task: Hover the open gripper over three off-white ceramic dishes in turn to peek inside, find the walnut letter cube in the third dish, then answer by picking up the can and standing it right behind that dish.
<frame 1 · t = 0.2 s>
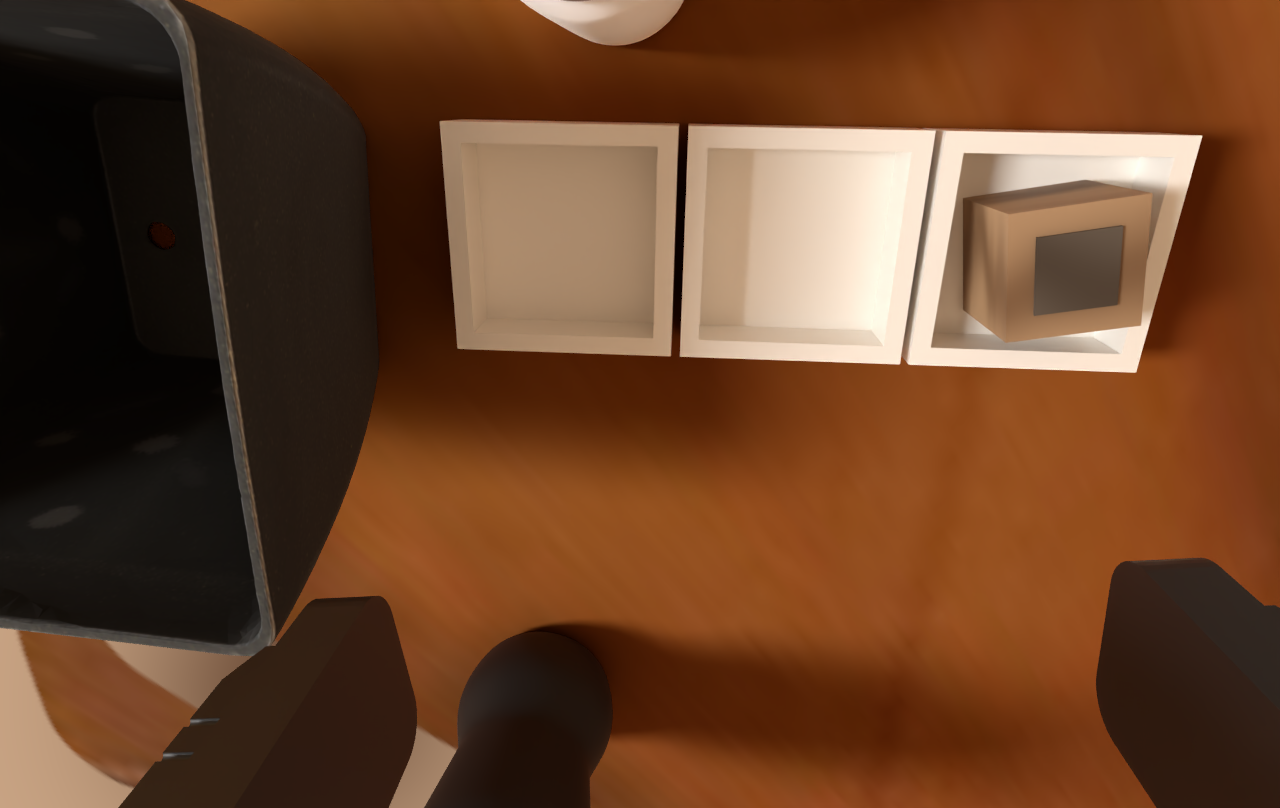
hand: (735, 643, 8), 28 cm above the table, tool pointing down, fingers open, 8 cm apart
letter cube: (1021, 247, 33), point 1 cm above the table, touching dish c
cola bottle: (547, 671, 45), on the table
dish c: (1014, 243, 34), on the table
dish b: (789, 237, 34), on the table
flower pot: (242, 243, 36), on the table
dish a: (571, 232, 35), on the table
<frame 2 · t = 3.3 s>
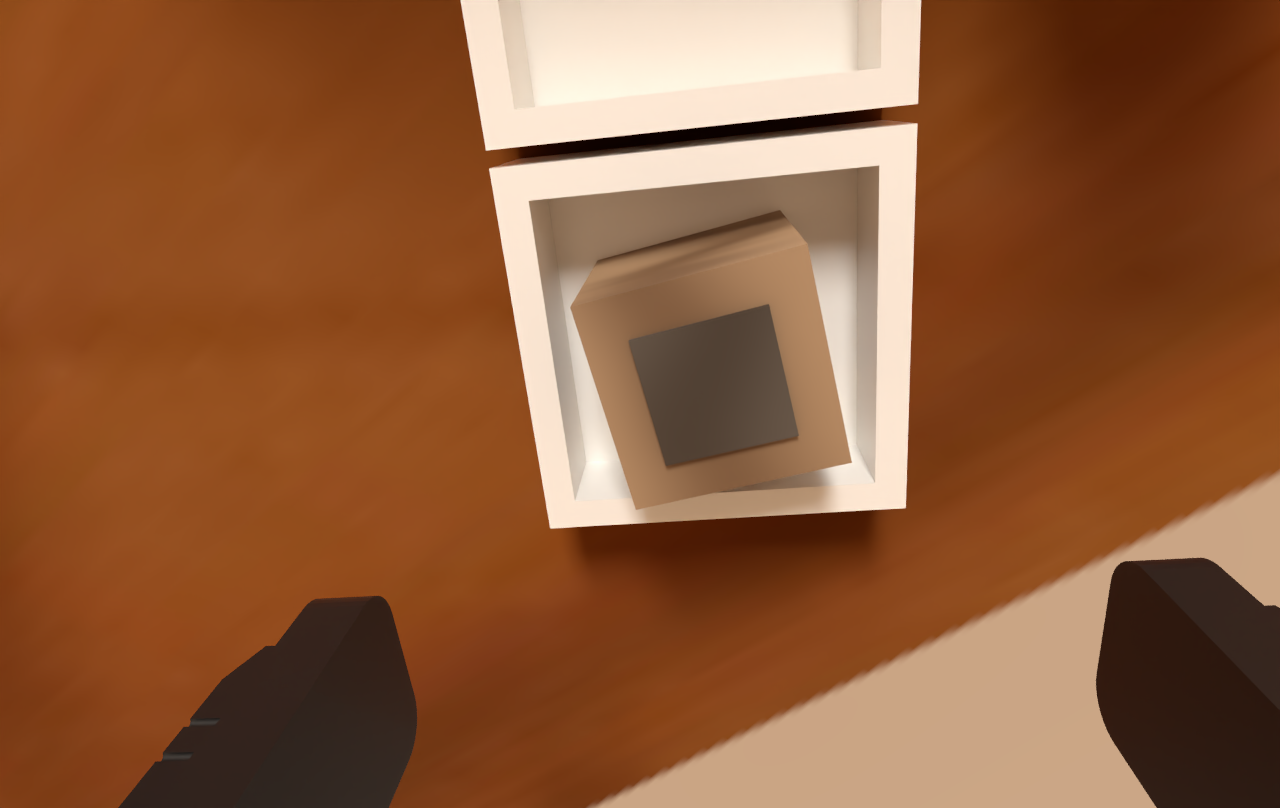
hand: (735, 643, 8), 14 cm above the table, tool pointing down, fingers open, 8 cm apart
letter cube: (709, 323, 21), point 1 cm above the table, touching dish c
dish c: (709, 315, 22), on the table
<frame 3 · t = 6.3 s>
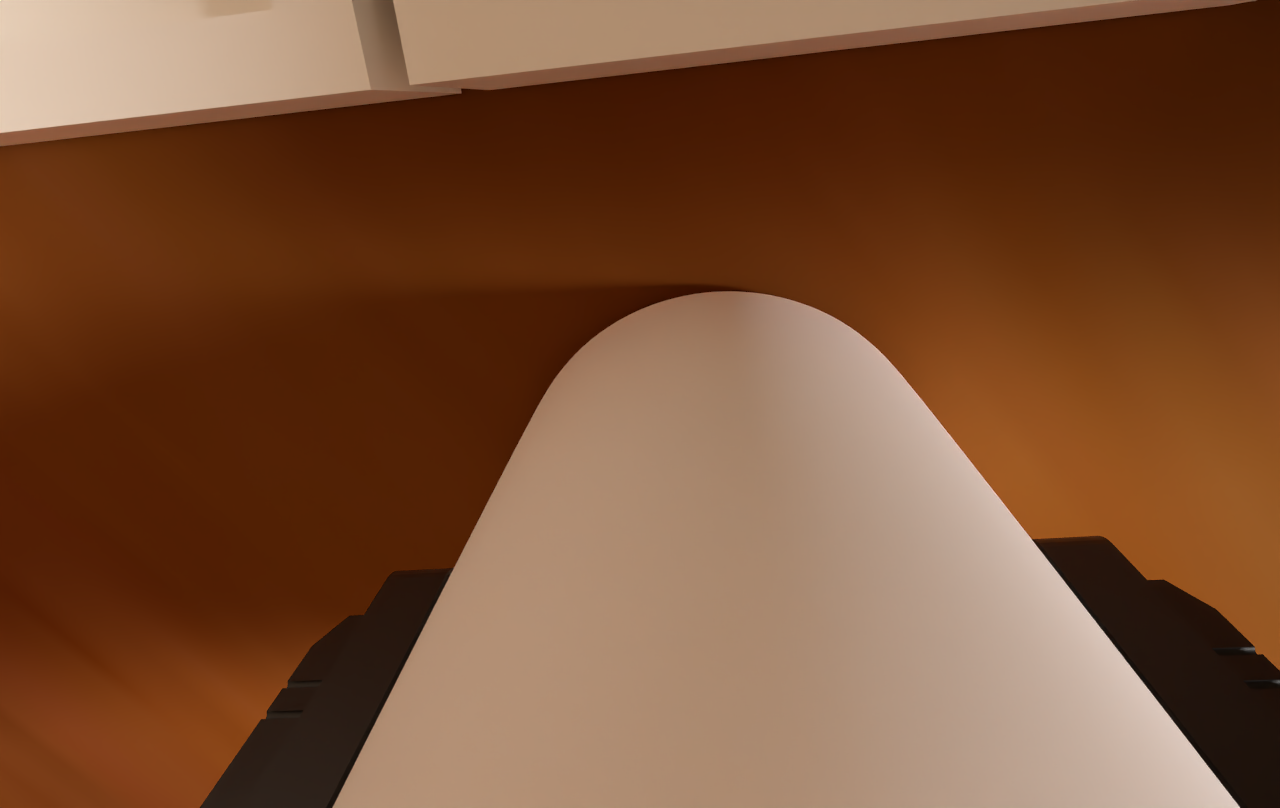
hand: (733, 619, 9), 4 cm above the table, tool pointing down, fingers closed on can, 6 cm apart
can: (721, 470, 13), on the table, touching gripper
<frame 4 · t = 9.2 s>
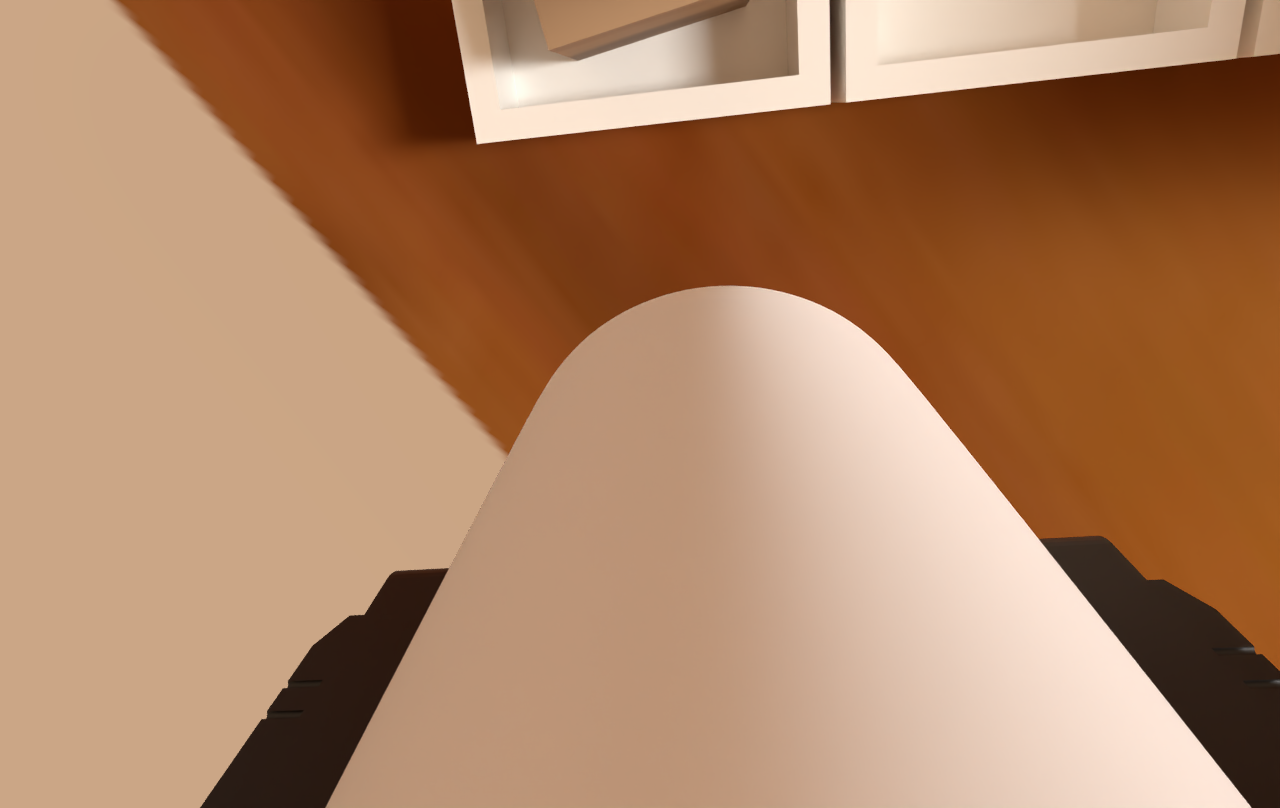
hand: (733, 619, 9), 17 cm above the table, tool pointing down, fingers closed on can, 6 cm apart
can: (721, 465, 13), point 13 cm above the table, touching gripper
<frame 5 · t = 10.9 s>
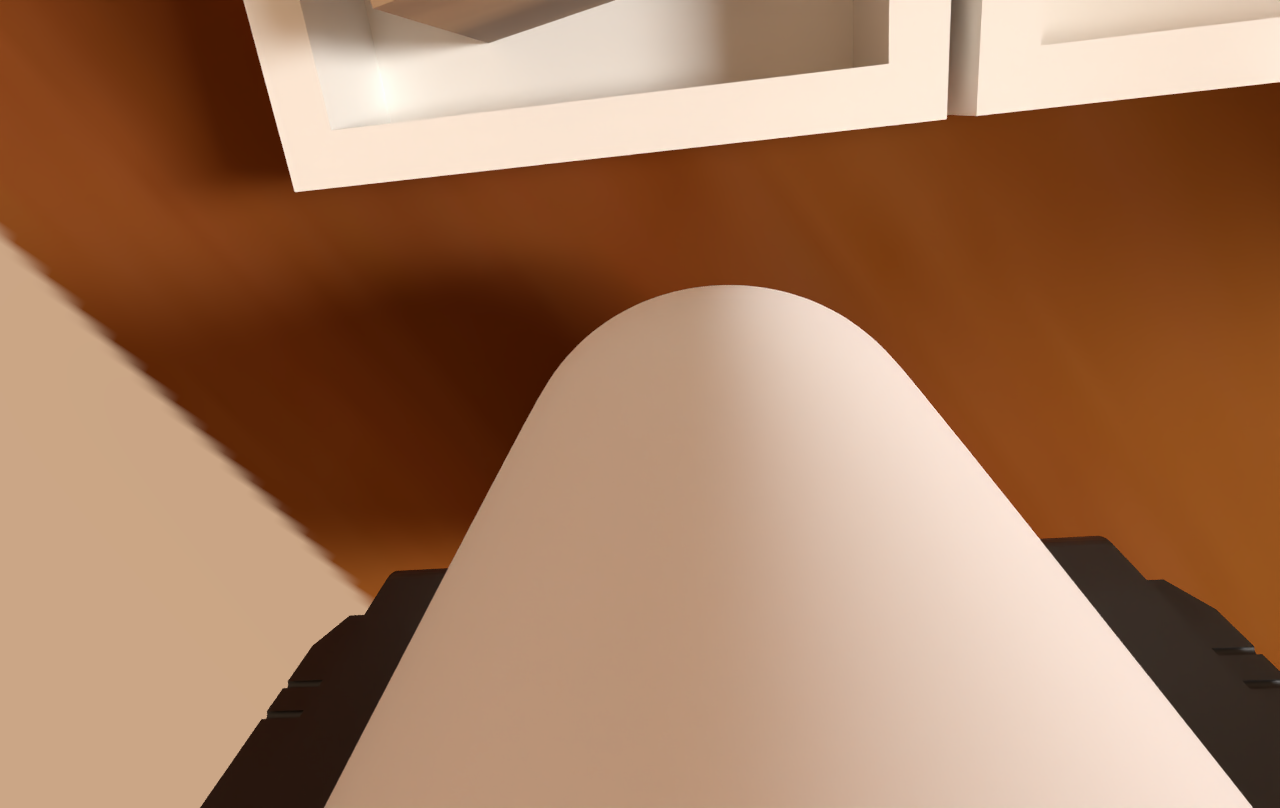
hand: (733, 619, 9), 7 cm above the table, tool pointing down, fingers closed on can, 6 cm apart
can: (721, 465, 13), point 3 cm above the table, touching gripper
when the fingers open (5 cm above the table, at t = 12.0 s): can drops 1 cm, on the table.
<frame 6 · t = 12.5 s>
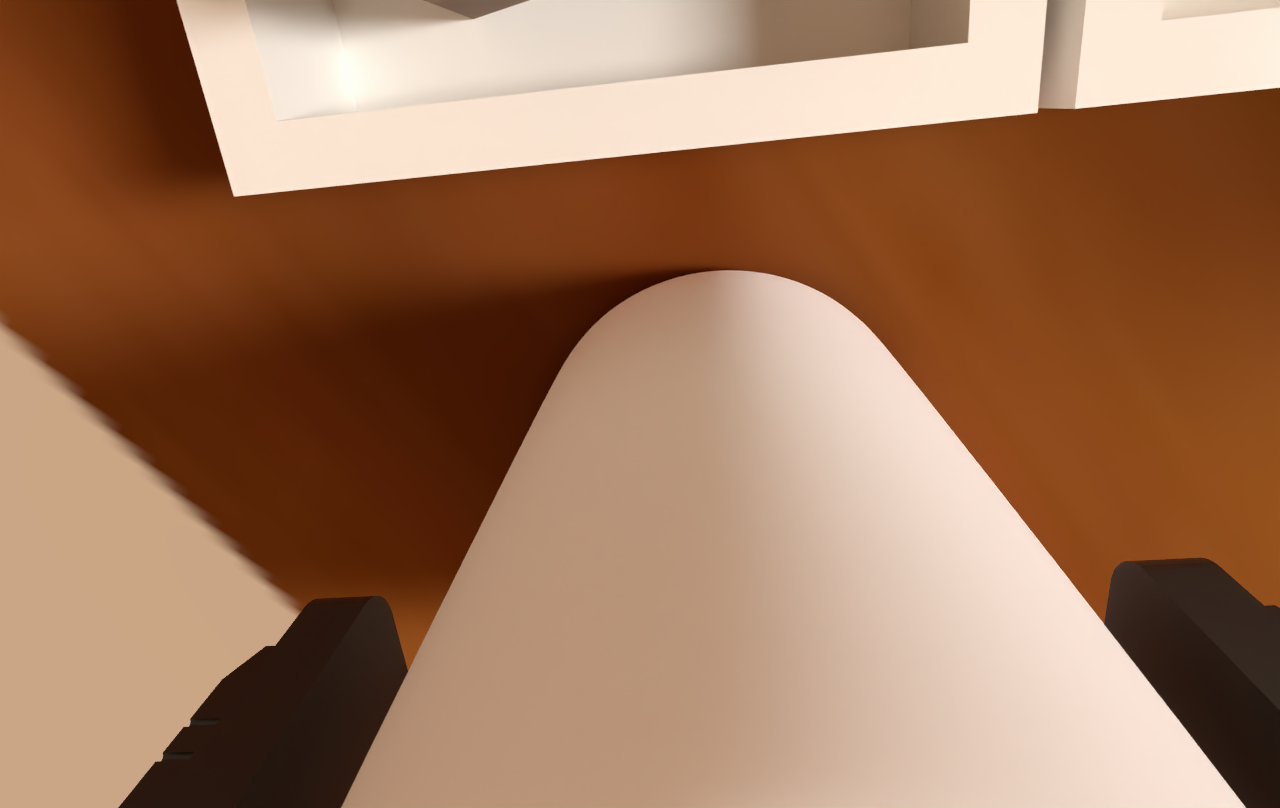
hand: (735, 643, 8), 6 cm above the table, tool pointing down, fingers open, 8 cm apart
can: (723, 435, 14), on the table
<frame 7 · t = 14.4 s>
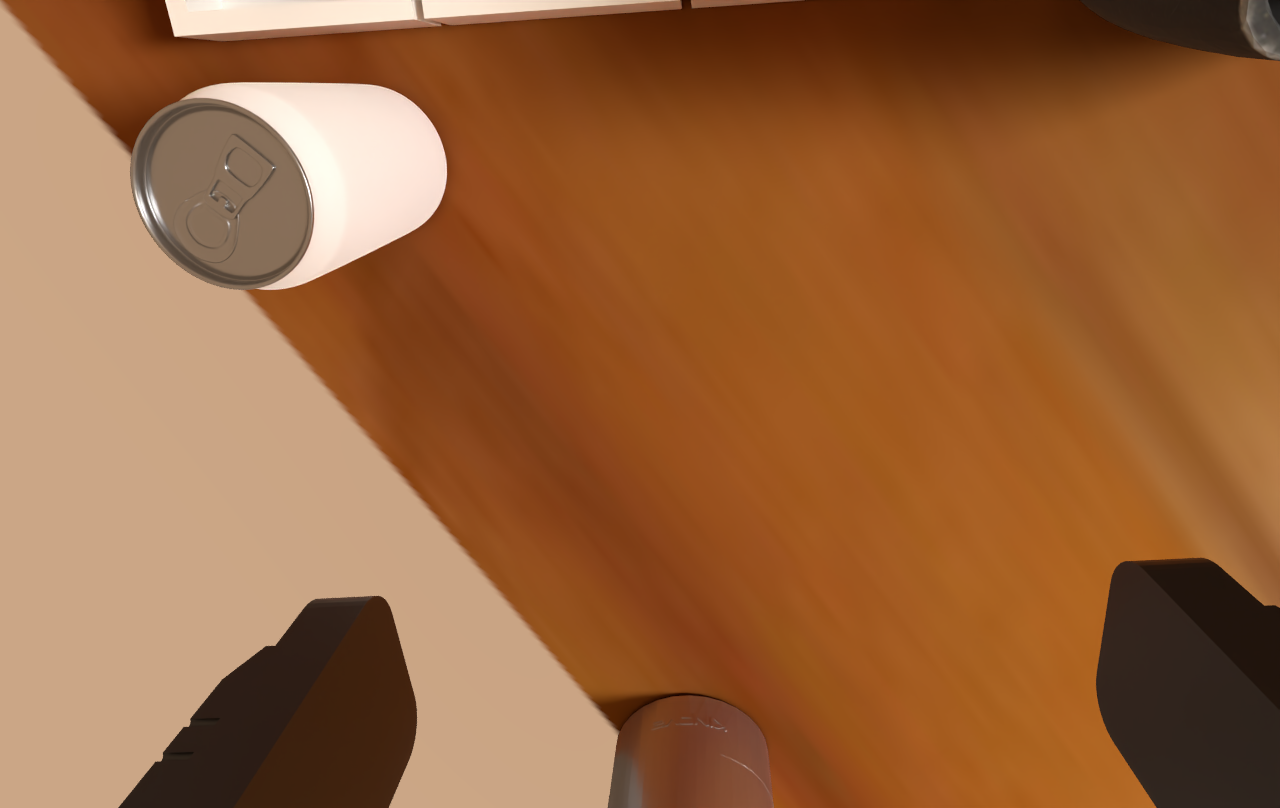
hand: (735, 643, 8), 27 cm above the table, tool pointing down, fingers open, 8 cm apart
can: (381, 162, 34), on the table
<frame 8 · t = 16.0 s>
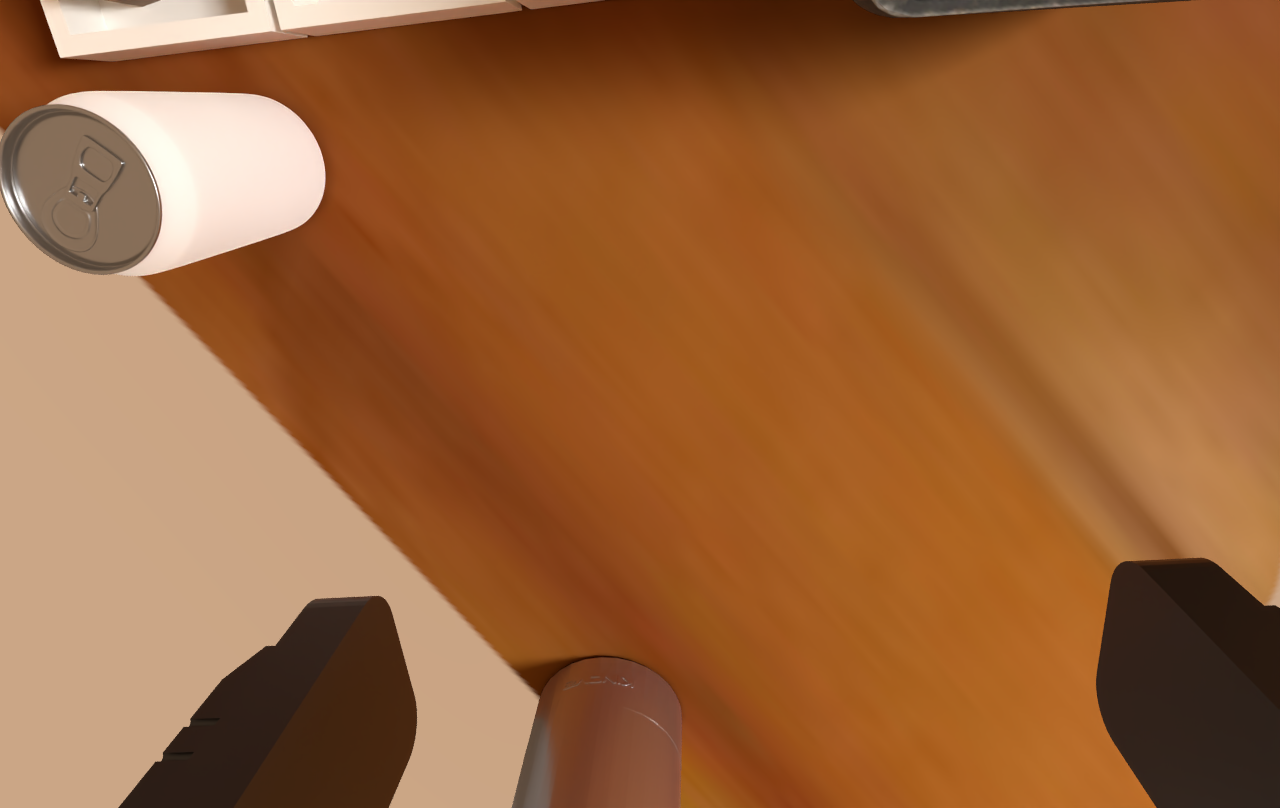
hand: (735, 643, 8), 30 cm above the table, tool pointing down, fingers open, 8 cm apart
can: (266, 164, 37), on the table
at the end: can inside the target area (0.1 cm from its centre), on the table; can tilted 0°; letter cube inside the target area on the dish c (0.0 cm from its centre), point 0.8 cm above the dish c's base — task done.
